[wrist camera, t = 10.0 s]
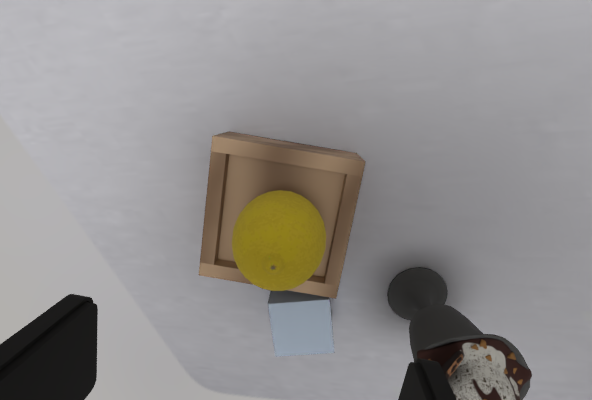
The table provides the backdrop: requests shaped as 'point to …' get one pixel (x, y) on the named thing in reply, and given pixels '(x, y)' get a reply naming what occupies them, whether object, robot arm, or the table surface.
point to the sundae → (457, 341)
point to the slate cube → (300, 323)
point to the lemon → (278, 240)
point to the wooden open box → (272, 177)
